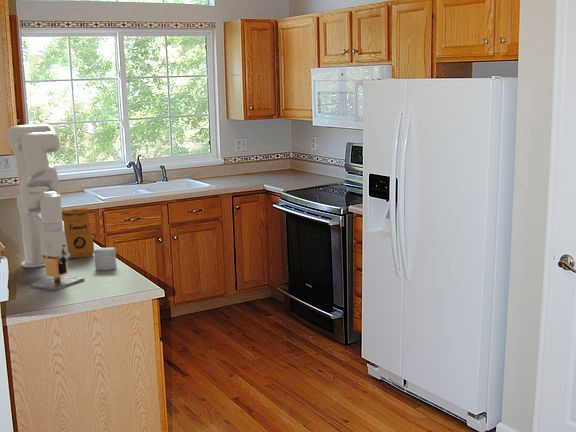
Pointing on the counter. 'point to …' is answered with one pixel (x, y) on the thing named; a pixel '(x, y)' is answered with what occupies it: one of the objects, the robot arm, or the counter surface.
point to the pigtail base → (57, 283)
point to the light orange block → (53, 267)
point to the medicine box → (105, 258)
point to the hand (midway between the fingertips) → (56, 272)
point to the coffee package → (78, 233)
